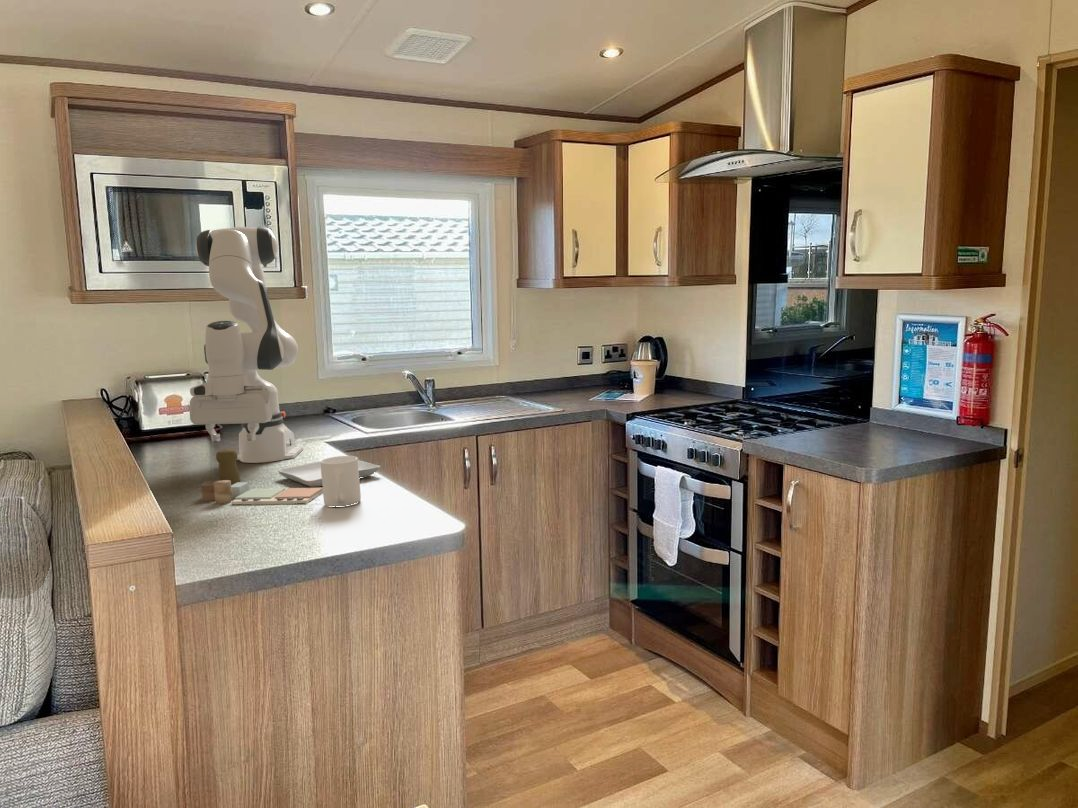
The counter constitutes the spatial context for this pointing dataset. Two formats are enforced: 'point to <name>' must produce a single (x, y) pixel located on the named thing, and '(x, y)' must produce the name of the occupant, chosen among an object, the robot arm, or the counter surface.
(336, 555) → the counter surface
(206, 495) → the walnut cube
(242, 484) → the soap box
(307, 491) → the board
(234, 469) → the pepper shaker
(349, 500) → the mug
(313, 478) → the salad plate
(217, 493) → the cork stopper
